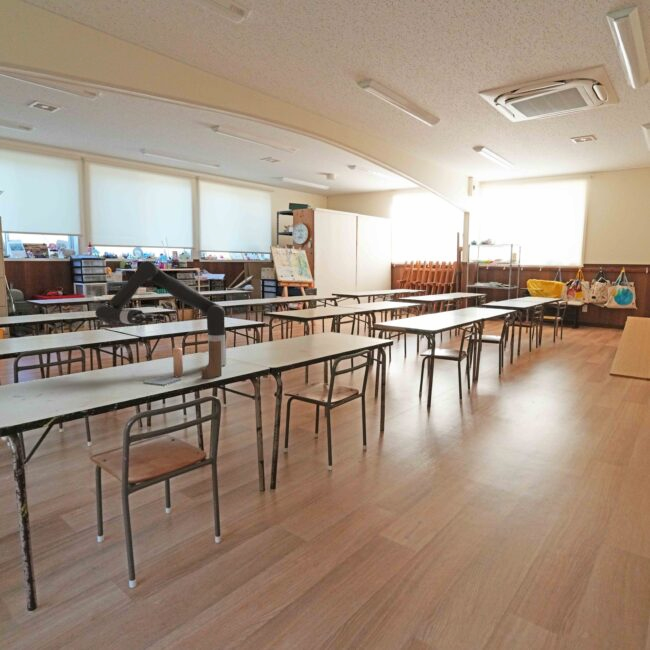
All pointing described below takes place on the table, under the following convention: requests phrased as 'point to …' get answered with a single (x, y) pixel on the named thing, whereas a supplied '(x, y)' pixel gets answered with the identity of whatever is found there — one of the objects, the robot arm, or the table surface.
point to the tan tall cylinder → (177, 362)
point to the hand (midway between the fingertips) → (158, 318)
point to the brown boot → (213, 360)
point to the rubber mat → (161, 380)
